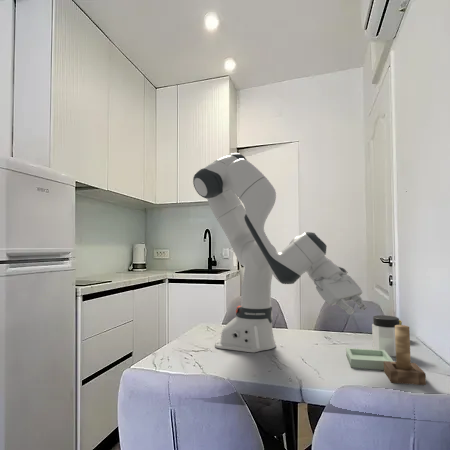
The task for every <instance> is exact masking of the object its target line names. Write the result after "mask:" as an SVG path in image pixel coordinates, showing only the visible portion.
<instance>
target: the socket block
mask: <svg viewBox="0 0 450 450" xmlns="http://www.w3.org/2000/svg"><path fill="white" fill-rule="evenodd" d="M383 373H384V374H385V375H386V378H388V380H389V381H390V383H391V384H406V385H417V386H427V381H426V380H427V379H426V378H427V377H426V375H427V374H426V372H425V371H424V370H423V369H422V368H421V367H420V366H419V365H418V364H417V363H415V362H411V370H398V369H396V361H394V362H389V361H384V370H383Z"/></svg>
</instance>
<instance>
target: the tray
mask: <svg viewBox="0 0 450 450" xmlns="http://www.w3.org/2000/svg"><path fill="white" fill-rule="evenodd" d="M345 352H346V353H345V354H346V358H347V361H348V363H349V366H350V368H353V369H369V370H382V371H384V361H389V362H395V361H394V360H393V358H392V357H391V356H389V355H388V354H387V352H386V351H385V350H374V349H373V348H369V349H368V348H356V347H355V348H352V347H345Z"/></svg>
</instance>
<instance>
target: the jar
mask: <svg viewBox="0 0 450 450" xmlns="http://www.w3.org/2000/svg"><path fill="white" fill-rule="evenodd" d="M372 320H373V321H372V322H373V323H372V324H371V329H372V330H371V332H372V334H371V336H372V349H374V350H385V351H386V352H387V354H388V355H389V356H390V357H391V358H392V357H393V358H396V345H395V325H399V320H400V318H399V317H397V316H393V315H383V314H380V315H373V317H372Z"/></svg>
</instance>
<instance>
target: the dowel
mask: <svg viewBox="0 0 450 450" xmlns="http://www.w3.org/2000/svg"><path fill="white" fill-rule="evenodd" d="M410 330H411V329H410V326H408V325H405V324H401V325H395V345H396V356H395V362H396V369H398V370H411V363H412V362H411V360H412V359H411V337H410V332H411V331H410Z"/></svg>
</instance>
